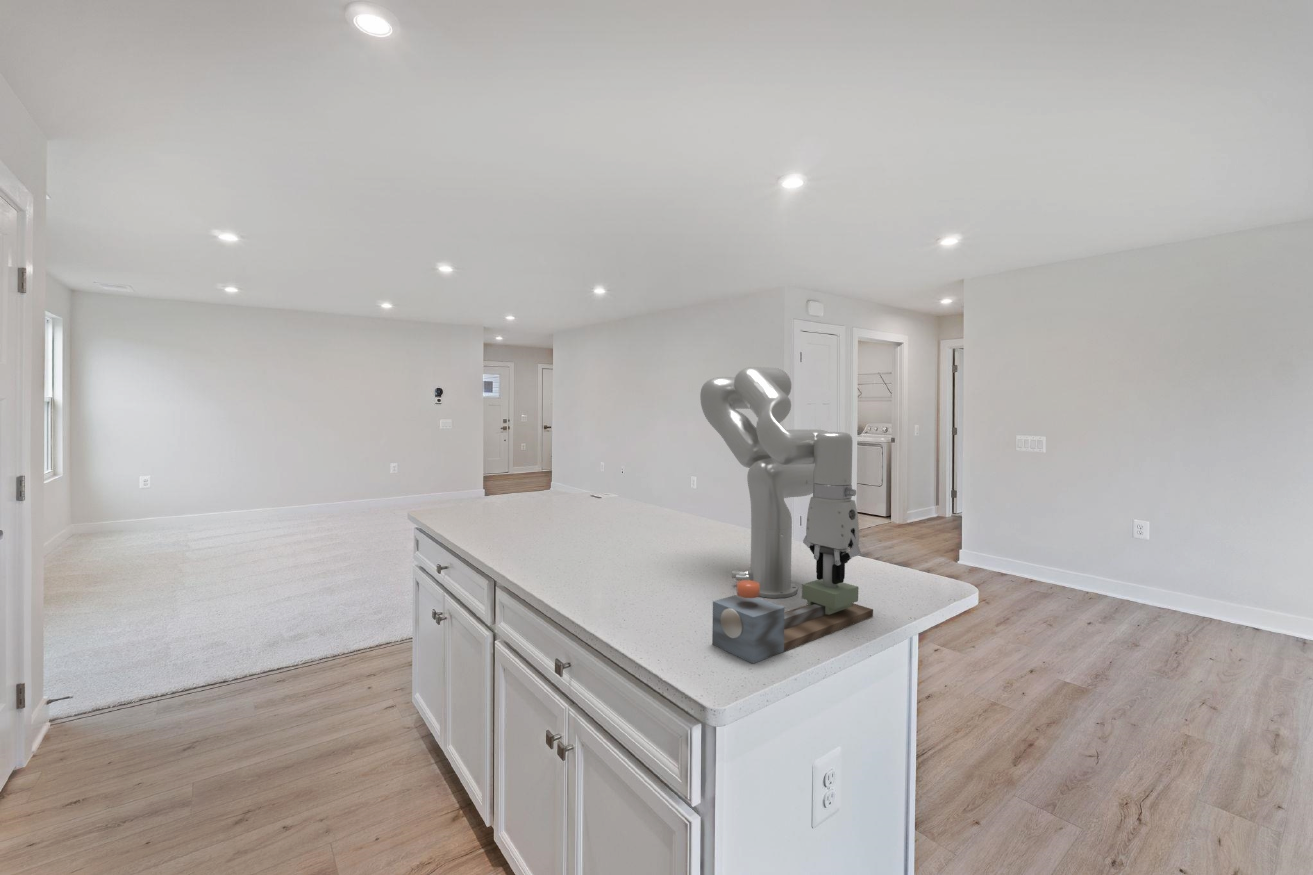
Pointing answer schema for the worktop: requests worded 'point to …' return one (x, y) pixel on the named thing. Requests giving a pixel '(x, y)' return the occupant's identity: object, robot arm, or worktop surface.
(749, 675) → the worktop surface
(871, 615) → the rail stand
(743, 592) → the button
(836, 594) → the block
